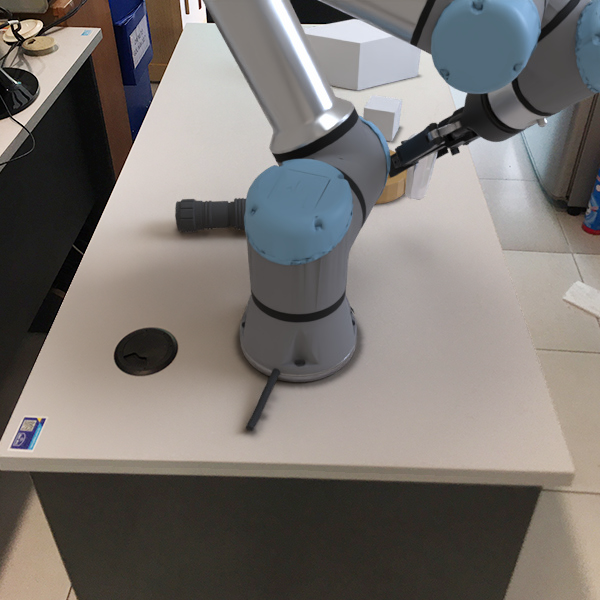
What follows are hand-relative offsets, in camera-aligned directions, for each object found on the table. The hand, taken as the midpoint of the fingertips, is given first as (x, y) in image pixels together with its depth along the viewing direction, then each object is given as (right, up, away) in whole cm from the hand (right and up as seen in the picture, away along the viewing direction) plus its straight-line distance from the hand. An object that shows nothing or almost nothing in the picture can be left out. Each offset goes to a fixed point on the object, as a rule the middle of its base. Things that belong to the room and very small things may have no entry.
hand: (403, 163), depth 92 cm
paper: (-3, +31, +52) cm, 60 cm away
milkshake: (+2, -5, 0) cm, 5 cm away
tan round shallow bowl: (-3, +1, +19) cm, 19 cm away
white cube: (+1, +13, +32) cm, 35 cm away
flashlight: (-27, -9, +9) cm, 29 cm away
